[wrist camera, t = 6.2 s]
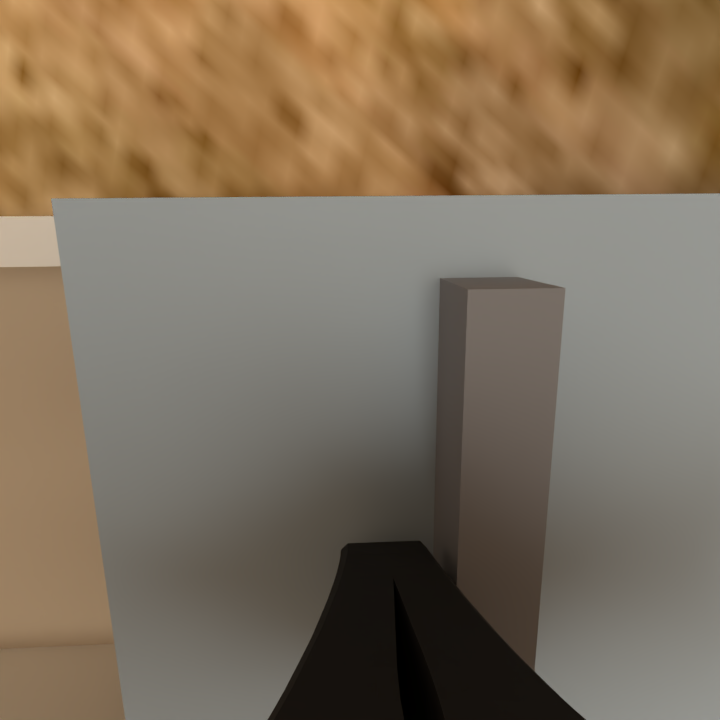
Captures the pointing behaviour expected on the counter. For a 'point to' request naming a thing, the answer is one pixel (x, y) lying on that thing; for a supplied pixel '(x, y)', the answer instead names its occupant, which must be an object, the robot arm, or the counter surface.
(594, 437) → the lid
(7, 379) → the base
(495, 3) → the counter surface
